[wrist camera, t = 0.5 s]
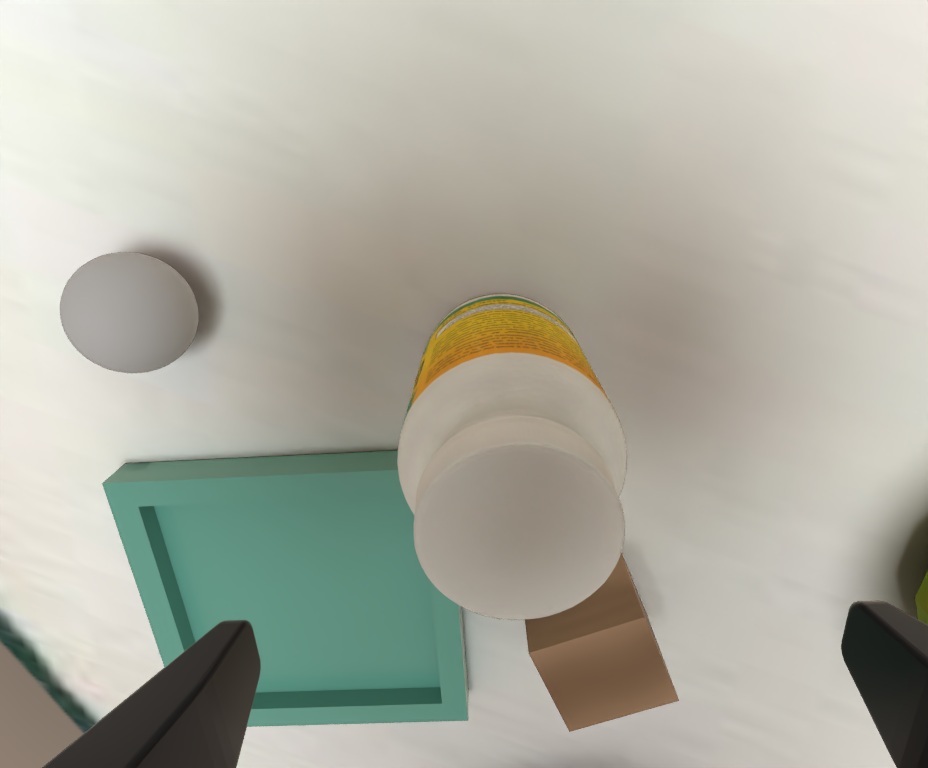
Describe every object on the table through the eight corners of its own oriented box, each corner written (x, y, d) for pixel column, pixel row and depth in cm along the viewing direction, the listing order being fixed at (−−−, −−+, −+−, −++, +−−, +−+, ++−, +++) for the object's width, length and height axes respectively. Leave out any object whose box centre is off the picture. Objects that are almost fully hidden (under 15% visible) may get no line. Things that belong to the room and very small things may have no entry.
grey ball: (228, 348, 20) (177, 388, 16) (125, 353, 20) (53, 394, 16) (203, 240, 18) (142, 259, 15) (93, 247, 18) (8, 267, 15)
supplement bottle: (593, 416, 20) (685, 621, 11) (448, 453, 21) (427, 674, 12) (559, 268, 18) (636, 376, 10) (400, 314, 19) (333, 454, 10)
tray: (468, 691, 25) (468, 720, 24) (199, 699, 26) (185, 728, 24) (448, 448, 21) (446, 467, 20) (125, 463, 21) (102, 483, 20)
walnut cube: (647, 615, 24) (678, 700, 20) (555, 643, 24) (569, 731, 21) (616, 540, 22) (644, 617, 19) (520, 572, 23) (528, 653, 19)
